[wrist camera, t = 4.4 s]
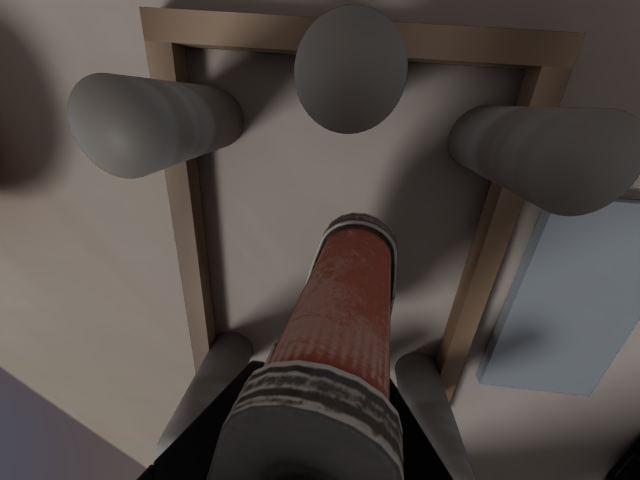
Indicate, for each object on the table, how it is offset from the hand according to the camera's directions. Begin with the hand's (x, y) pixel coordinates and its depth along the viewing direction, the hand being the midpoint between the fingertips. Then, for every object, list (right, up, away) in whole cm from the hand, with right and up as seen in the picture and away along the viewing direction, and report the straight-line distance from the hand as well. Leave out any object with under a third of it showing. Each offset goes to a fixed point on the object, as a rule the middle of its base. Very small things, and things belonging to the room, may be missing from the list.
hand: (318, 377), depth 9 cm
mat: (+13, +1, +6) cm, 14 cm away
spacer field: (+1, +3, +6) cm, 7 cm away
